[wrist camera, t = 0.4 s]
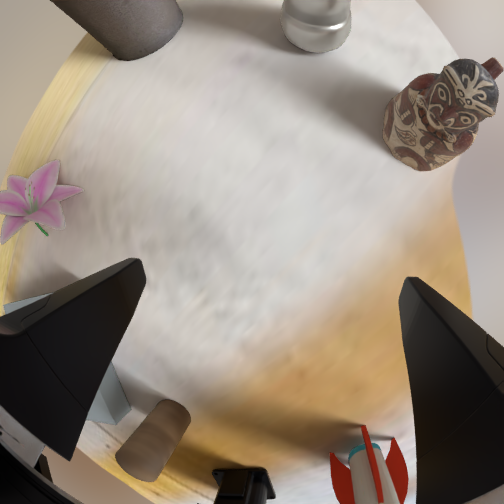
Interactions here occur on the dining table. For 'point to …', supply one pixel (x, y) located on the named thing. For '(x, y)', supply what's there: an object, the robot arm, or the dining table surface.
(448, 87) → the figurine
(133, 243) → the dining table surface
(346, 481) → the toy rocket
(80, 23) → the pillar candle
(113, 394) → the socket block
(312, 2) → the plastic bottle
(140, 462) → the walnut peg
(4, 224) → the lily
